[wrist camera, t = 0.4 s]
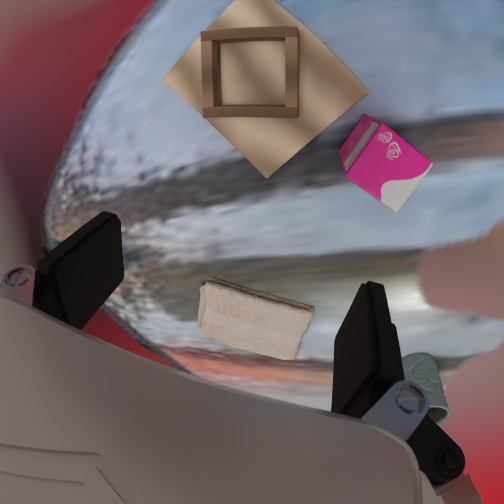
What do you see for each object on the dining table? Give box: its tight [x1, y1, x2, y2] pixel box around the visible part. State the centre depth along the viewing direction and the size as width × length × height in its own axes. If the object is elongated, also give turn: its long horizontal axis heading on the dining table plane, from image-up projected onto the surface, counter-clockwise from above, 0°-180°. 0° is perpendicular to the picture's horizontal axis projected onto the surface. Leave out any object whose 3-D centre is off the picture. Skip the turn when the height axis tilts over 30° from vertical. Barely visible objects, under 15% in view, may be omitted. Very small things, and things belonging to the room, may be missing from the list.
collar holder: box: [163, 0, 370, 178], centre depth 29 cm, size 16×18×4 cm
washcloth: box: [197, 277, 314, 360], centre depth 48 cm, size 12×18×3 cm, turn 80°
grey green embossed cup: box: [402, 353, 450, 426], centre depth 43 cm, size 10×10×12 cm
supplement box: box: [339, 114, 433, 213], centre depth 27 cm, size 6×6×12 cm
